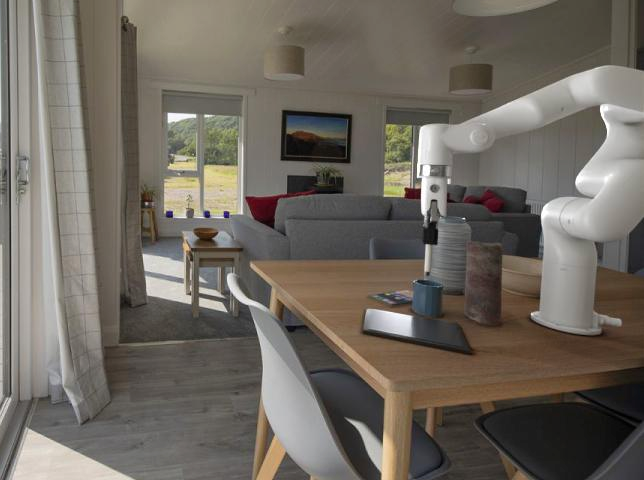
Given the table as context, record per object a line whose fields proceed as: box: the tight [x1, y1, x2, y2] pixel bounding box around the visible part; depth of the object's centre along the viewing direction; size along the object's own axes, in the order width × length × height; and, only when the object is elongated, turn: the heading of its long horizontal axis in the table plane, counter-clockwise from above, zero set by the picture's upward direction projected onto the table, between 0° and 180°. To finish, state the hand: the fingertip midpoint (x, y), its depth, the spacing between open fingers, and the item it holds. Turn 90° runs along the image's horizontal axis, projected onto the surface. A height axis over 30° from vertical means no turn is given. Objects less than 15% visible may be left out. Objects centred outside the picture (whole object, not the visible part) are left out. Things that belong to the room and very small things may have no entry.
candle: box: [464, 240, 504, 326], centre depth 97 cm, size 8×7×20 cm
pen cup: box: [411, 278, 444, 317], centre depth 102 cm, size 7×7×8 cm
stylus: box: [423, 244, 433, 276], centre depth 101 cm, size 2×2×14 cm
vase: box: [423, 215, 472, 296], centre depth 122 cm, size 12×12×23 cm
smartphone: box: [368, 289, 413, 306], centre depth 112 cm, size 8×15×1 cm, turn 111°
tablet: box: [362, 307, 472, 355], centre depth 91 cm, size 20×16×1 cm
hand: (429, 243), depth 101 cm, fingers closed on stylus, 1 cm apart
